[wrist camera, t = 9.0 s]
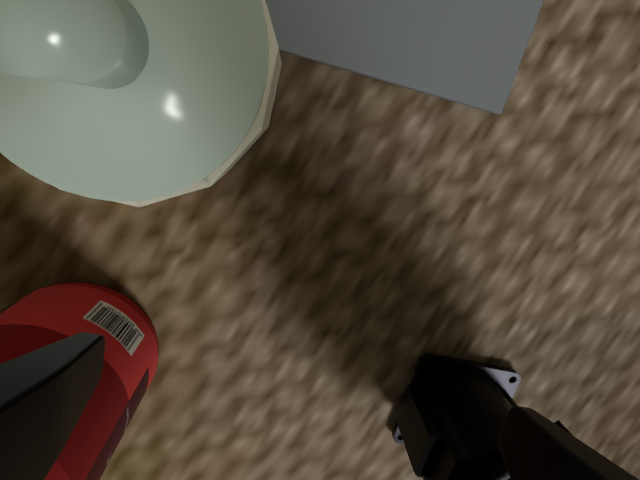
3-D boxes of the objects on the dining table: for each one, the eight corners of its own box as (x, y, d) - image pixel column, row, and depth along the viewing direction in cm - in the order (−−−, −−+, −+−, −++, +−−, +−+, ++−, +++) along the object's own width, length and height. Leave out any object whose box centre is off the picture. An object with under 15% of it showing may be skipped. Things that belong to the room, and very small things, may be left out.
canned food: (6, 268, 20) (-318, 440, 9) (166, 285, 21) (38, 460, 10) (18, 391, 22) (-233, 643, 11) (162, 402, 23) (52, 644, 12)
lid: (298, -83, 12) (303, -219, 7) (239, 221, 15) (215, 271, 10) (-60, -203, 10) (-355, -472, 6) (-48, 160, 13) (-239, 183, 8)
